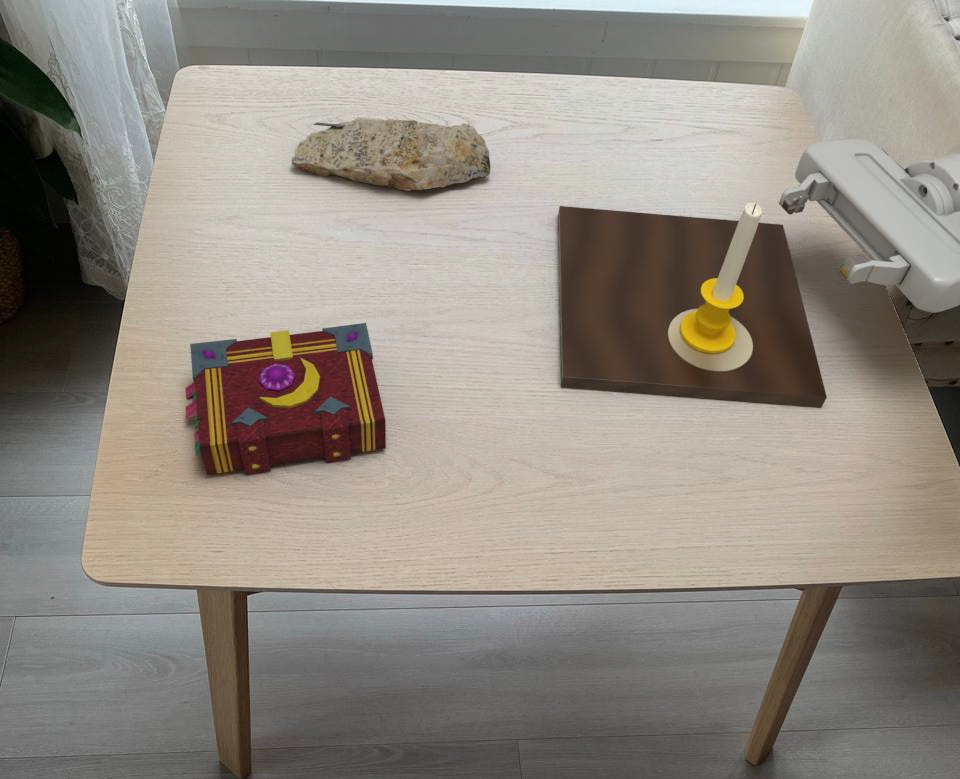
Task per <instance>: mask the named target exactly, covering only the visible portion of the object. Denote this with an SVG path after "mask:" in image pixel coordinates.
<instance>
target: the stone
mask: <svg viewBox="0 0 960 779" xmlns="http://www.w3.org/2000/svg"><path fill="white" fill-rule="evenodd" d="M312 125H313V126H321V127H322V126H324V127H328V128H326V129H323V130H318V131H315V132H311V133H310V134H309V135H307V136H306V138H305V139H303V140H302V141H300V142H299V143H298V145H297V146H296V147H295V149H294V155H293V156H292V157H291V161H290V162H291V165H293V166H294V167H297V168H298V169H299V170H301V171H304V172H306V173H311V174H315V175H317V176H321V177H323V176H324V177H325V176H330V175H331V176H339V177H342V178H345V179H348V180H351V181H354V182H358V183H365V184H367V183H368V184H369V185H373V186H375V185H376V186H385V187H390V188H393V189H398V190H401V191H406V192H408V191H409V192H411V191H413V190H419V191H422V190H429V189H434V188H435V189H436V188H445V187H446V186H451V185H453V184H463V183H467V182H469V181H470V180H472V179H477V178H483V177H486V176H488V175H490V174H491V159H490V151H489V148H488V147H487V144H486V140H485V138H484V137H483V136H482V135H481V134H479V133H478V131H477V130H476V128H475V127H474V126H472V125H471V124H468V123H464V122H463V123H461V124H460V125H459V124H455V125H451V126H447V125H443V124H439V123H428V122H421V121H418V120H413V119H410V120H407V119H406V120H405V119H393V118H389V119H387V118H386V119H380V118H365V117H356V118H355V119H353V120H351V121H344V122H339V123H326V122H315V123H313V124H312Z"/></svg>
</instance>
